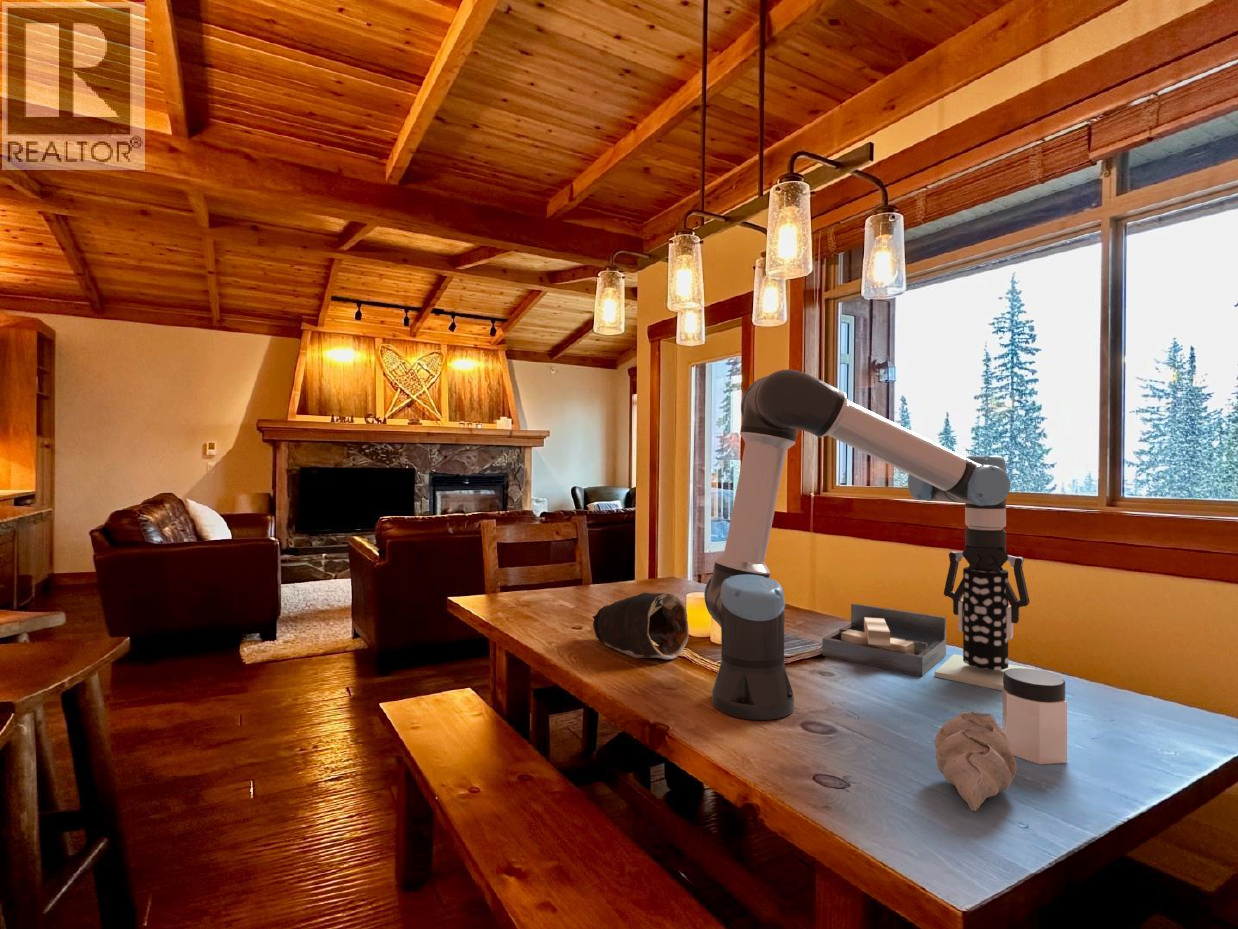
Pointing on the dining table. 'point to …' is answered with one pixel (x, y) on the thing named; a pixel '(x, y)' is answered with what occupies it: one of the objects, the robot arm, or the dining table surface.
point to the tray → (903, 626)
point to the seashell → (975, 757)
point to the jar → (1035, 715)
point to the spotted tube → (985, 619)
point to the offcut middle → (862, 639)
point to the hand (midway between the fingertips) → (985, 634)
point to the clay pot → (644, 625)
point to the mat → (972, 673)
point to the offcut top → (876, 631)
